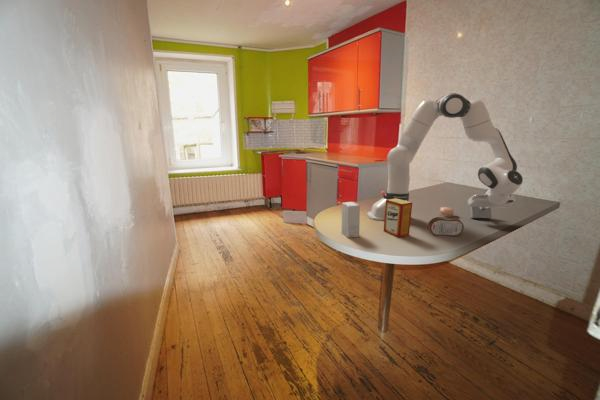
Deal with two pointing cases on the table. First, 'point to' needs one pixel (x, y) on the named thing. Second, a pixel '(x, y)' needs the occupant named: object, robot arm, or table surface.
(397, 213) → the baking soda box
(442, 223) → the tin
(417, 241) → the table surface
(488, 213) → the tile
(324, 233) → the table surface
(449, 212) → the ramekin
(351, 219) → the skincare box
